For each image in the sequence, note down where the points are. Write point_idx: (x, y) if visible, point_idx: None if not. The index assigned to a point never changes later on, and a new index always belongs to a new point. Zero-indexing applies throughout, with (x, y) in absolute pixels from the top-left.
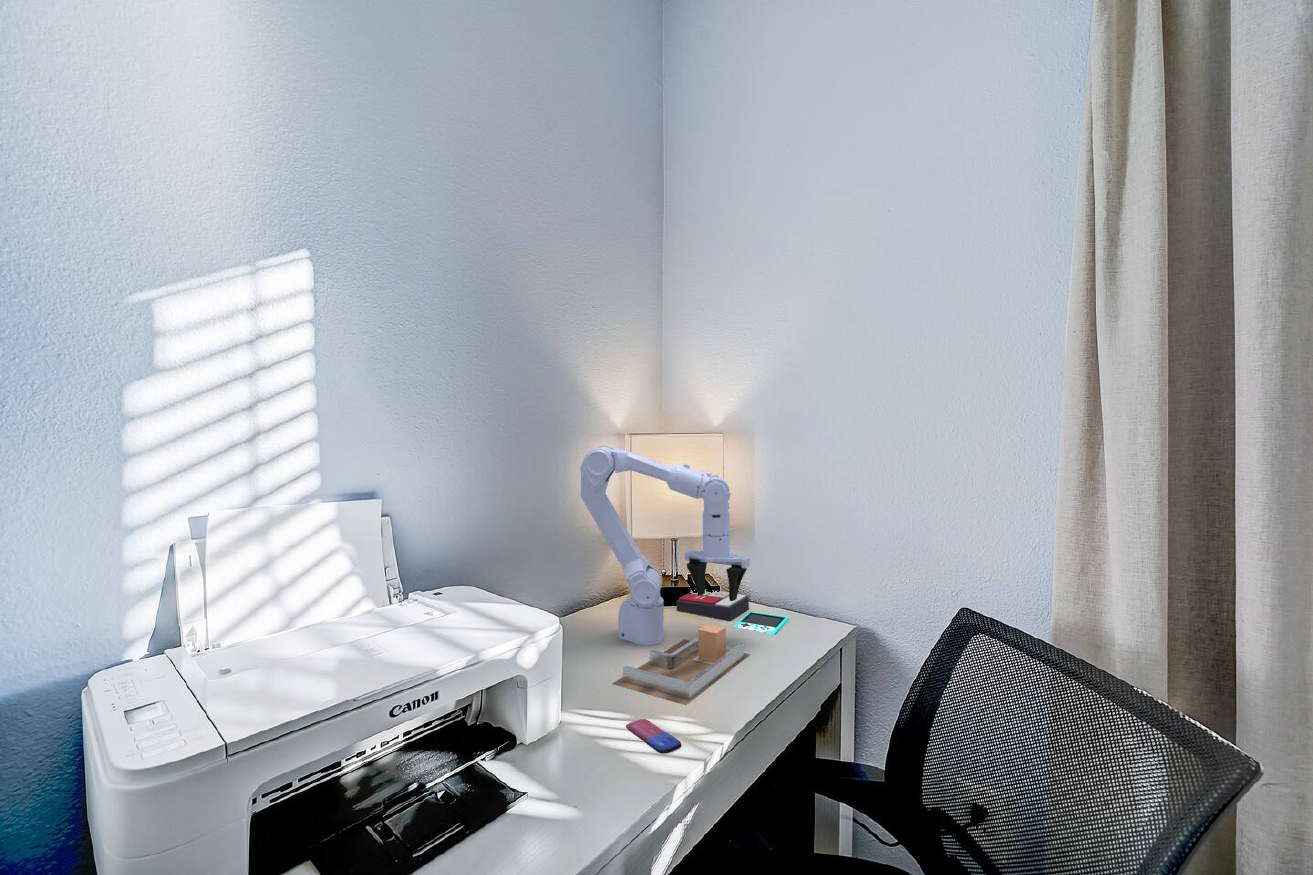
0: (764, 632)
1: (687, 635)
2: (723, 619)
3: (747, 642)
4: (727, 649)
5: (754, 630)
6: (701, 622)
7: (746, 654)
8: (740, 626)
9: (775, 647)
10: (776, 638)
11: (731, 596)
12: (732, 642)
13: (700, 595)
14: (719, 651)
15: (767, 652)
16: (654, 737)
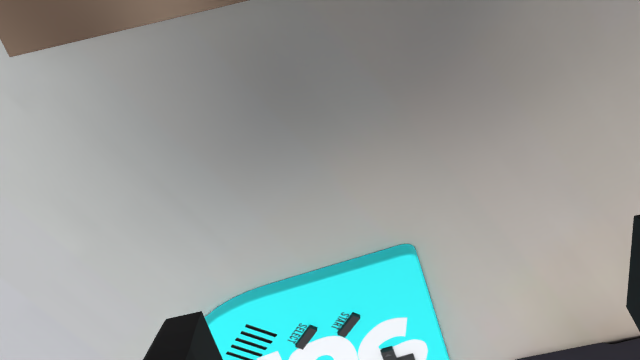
0: (251, 358)
1: (609, 62)
2: (547, 356)
3: (243, 226)
4: (183, 7)
5: (303, 343)
6: None
7: (22, 31)
8: (403, 339)
9: (84, 272)
10: None
11: (152, 356)
12: (306, 170)
13: (635, 221)
14: None
15: (51, 195)
16: None
